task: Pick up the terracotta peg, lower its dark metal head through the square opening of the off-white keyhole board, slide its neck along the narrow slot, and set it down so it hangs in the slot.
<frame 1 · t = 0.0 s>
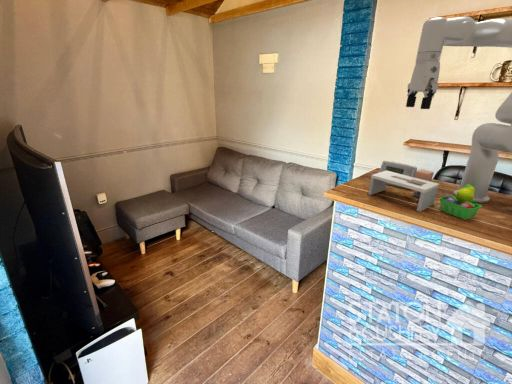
hand: (417, 107, 104), 37 cm above the countertop, tool pointing down, fingers open, 9 cm apart
digital clock: (393, 185, 133), on the countertop
keyhole board: (399, 199, 116), on the countertop
peg: (418, 195, 120), on the countertop
fruit basket: (457, 214, 103), on the countertop
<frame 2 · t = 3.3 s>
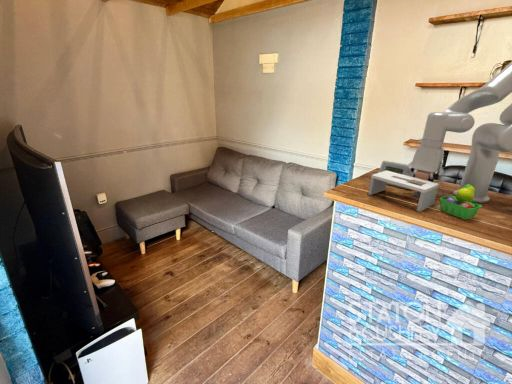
hand: (421, 184, 118), 5 cm above the countertop, tool pointing down, fingers closed on peg, 5 cm apart
peg: (418, 195, 120), on the countertop, touching gripper
everything else where it was.
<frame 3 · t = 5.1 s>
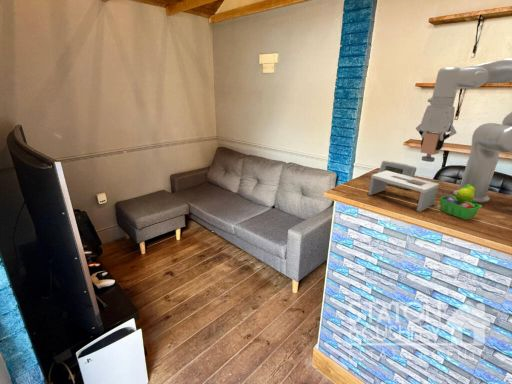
hand: (430, 148, 112), 21 cm above the countertop, tool pointing down, fingers closed on peg, 5 cm apart
peg: (427, 160, 114), point 16 cm above the countertop, touching gripper
everything else where it was.
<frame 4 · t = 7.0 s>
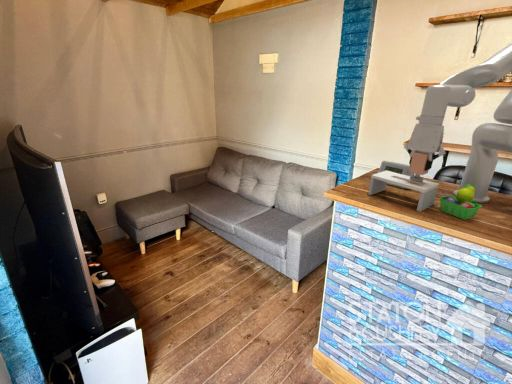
hand: (419, 167, 107), 15 cm above the countertop, tool pointing down, fingers closed on peg, 5 cm apart
peg: (416, 180, 108), point 10 cm above the countertop, touching gripper
everything else where it was.
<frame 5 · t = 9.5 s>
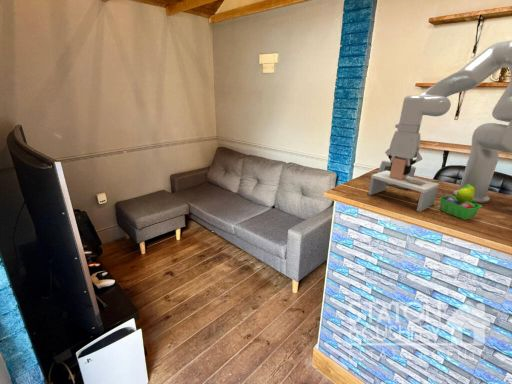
hand: (399, 172, 114), 11 cm above the countertop, tool pointing down, fingers closed on peg, 5 cm apart
peg: (396, 183, 115), point 6 cm above the countertop, touching gripper
everything else where it was.
when the fingers open (11 cm above the countertop, at t = 11.1 s): peg stays where it is, resting on keyhole board.
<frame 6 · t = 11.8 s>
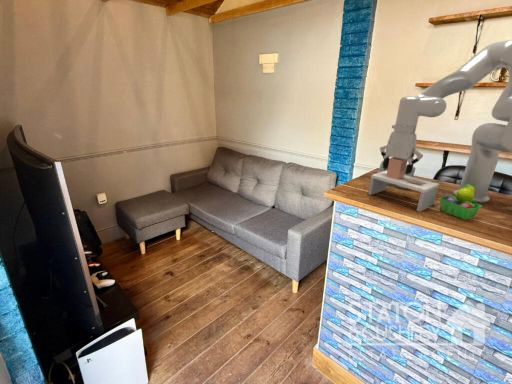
hand: (396, 170, 114), 12 cm above the countertop, tool pointing down, fingers open, 9 cm apart
peg: (393, 183, 117), point 6 cm above the countertop, touching keyhole board
everything else where it was.
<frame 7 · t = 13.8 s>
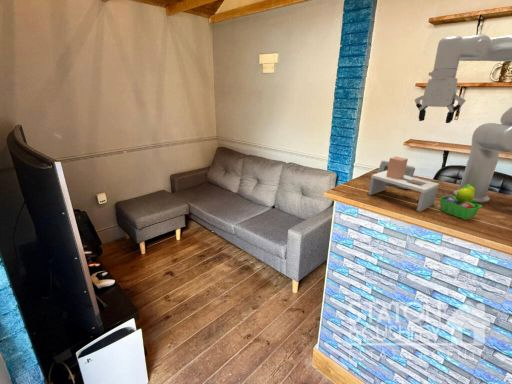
hand: (434, 121, 107), 32 cm above the countertop, tool pointing down, fingers open, 9 cm apart
nothing on the countertop moved.
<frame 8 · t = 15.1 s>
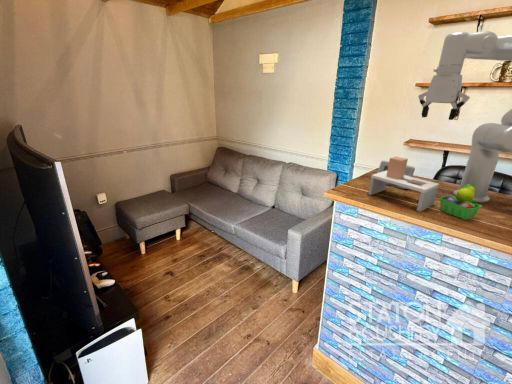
hand: (437, 118, 107), 33 cm above the countertop, tool pointing down, fingers open, 9 cm apart
at the end: peg 0.2 cm from the target spot on the keyhole board, point 5.8 cm above the keyhole board's base; peg tilted 0°; the gripper is holding nothing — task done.
